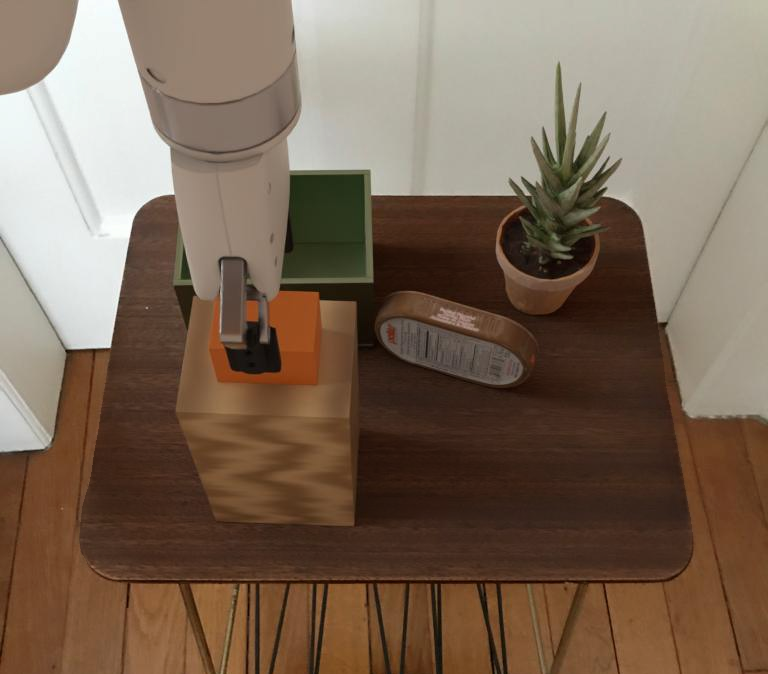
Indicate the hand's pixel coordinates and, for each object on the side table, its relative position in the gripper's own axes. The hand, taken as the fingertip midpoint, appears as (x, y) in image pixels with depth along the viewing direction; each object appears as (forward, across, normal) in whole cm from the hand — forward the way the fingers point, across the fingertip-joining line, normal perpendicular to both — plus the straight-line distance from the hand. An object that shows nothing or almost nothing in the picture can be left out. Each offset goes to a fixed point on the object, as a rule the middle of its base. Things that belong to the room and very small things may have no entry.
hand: (263, 306), depth 59 cm
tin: (+24, -12, +14) cm, 30 cm away
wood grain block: (+23, 0, 0) cm, 23 cm away
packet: (+5, 0, 0) cm, 5 cm away
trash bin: (+23, -20, -2) cm, 31 cm away
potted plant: (+24, -21, +22) cm, 39 cm away
